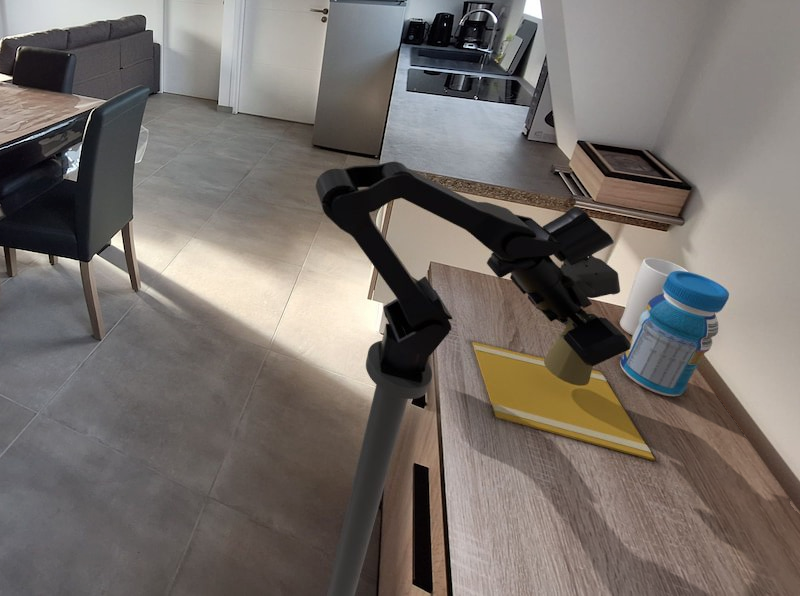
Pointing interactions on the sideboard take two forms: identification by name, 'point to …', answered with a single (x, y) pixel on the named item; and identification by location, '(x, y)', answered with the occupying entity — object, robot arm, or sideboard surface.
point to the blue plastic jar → (674, 333)
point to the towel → (556, 401)
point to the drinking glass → (646, 290)
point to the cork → (567, 361)
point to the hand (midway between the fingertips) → (588, 340)
